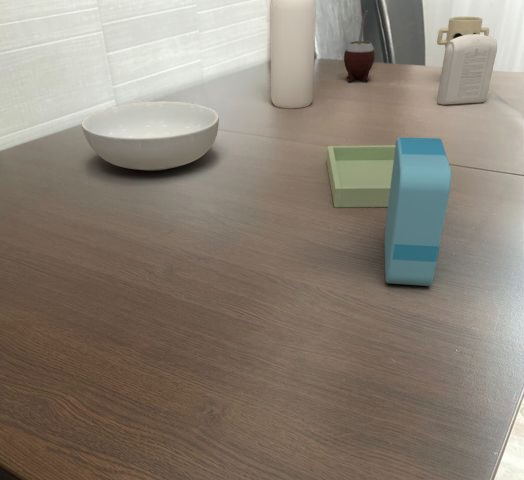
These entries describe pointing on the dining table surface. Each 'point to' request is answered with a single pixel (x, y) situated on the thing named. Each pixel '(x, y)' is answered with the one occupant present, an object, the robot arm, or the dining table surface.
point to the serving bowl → (151, 134)
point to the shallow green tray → (360, 175)
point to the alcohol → (292, 52)
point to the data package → (416, 210)
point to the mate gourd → (359, 58)
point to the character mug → (461, 28)
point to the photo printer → (467, 69)
